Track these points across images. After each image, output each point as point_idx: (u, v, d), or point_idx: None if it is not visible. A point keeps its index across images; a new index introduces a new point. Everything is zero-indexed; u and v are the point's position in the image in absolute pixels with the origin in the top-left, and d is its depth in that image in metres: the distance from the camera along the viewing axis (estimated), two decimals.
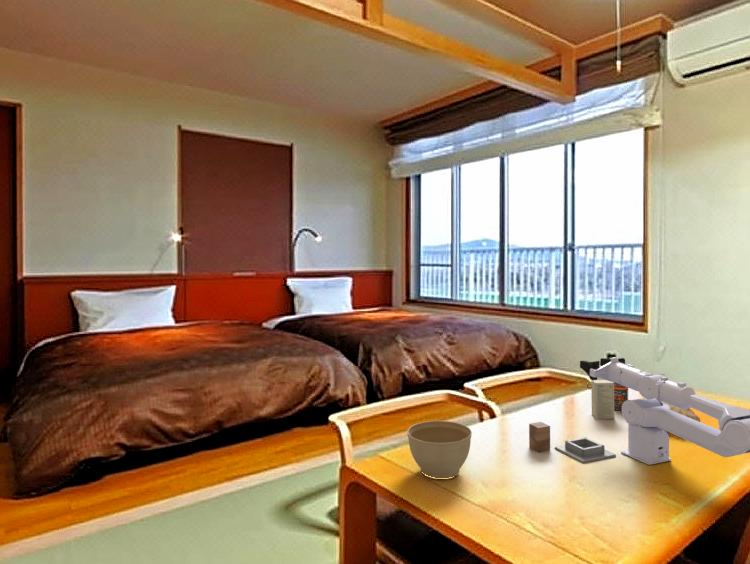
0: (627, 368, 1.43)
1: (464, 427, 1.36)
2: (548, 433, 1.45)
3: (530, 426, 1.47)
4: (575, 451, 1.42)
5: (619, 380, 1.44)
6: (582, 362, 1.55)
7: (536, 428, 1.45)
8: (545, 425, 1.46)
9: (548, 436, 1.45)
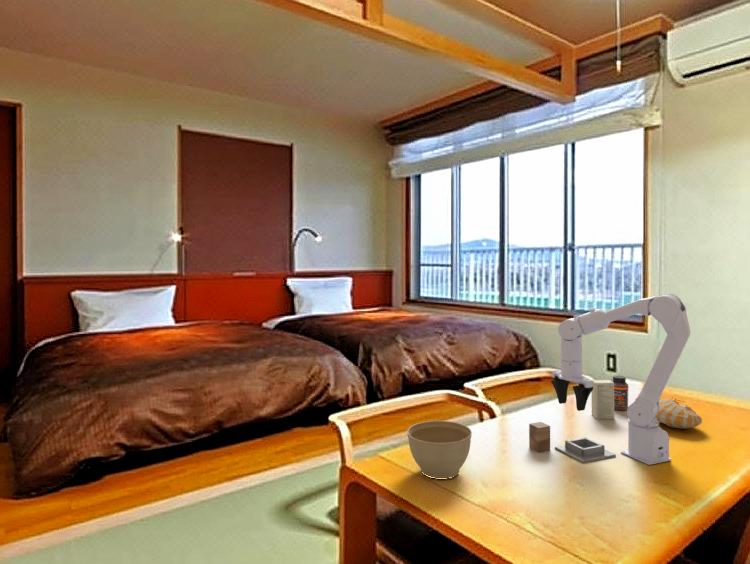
0: None
1: (464, 427, 1.36)
2: (548, 433, 1.45)
3: (530, 426, 1.47)
4: (575, 451, 1.42)
5: (580, 361, 1.49)
6: (579, 407, 1.47)
7: (536, 428, 1.45)
8: (545, 425, 1.46)
9: (548, 436, 1.45)
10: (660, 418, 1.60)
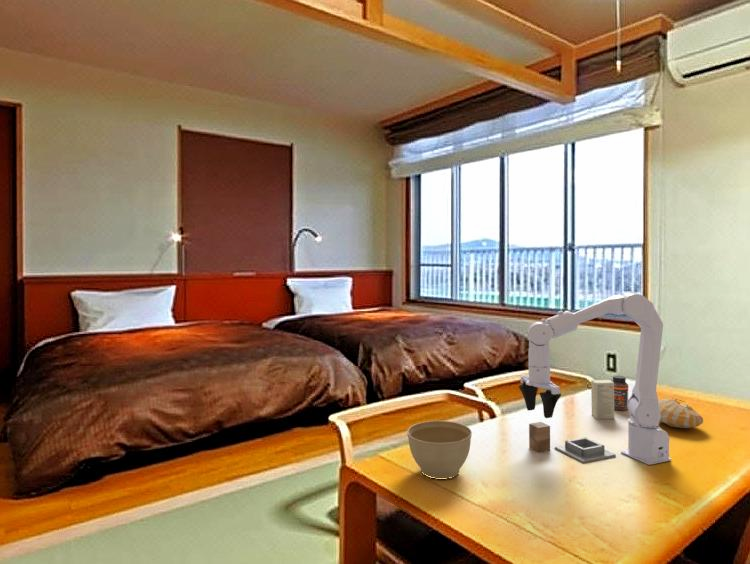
0: (529, 362, 1.45)
1: (464, 427, 1.36)
2: (548, 433, 1.45)
3: (530, 426, 1.47)
4: (575, 451, 1.42)
5: (548, 366, 1.44)
6: (547, 414, 1.42)
7: (536, 428, 1.45)
8: (545, 425, 1.46)
9: (548, 436, 1.45)
10: (662, 418, 1.60)
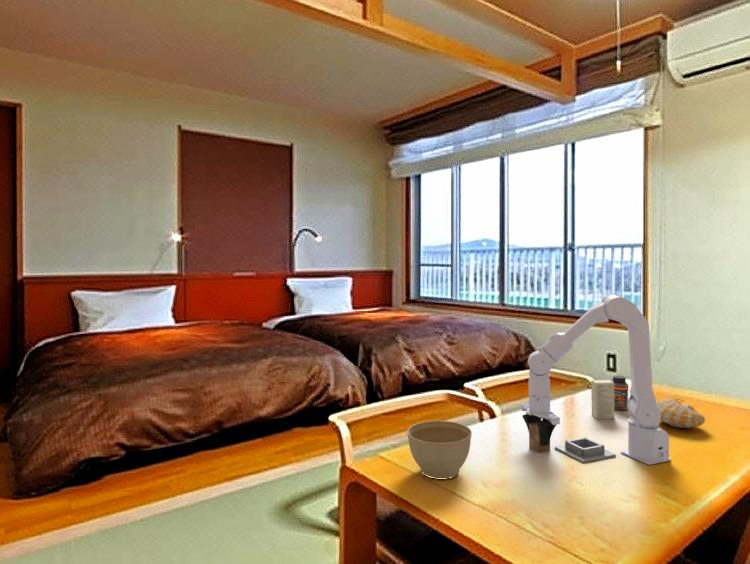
0: (529, 391, 1.46)
1: (464, 427, 1.36)
2: None
3: (530, 426, 1.47)
4: (575, 451, 1.42)
5: (548, 396, 1.44)
6: (543, 442, 1.44)
7: (536, 428, 1.45)
8: None
9: None
10: (664, 418, 1.60)
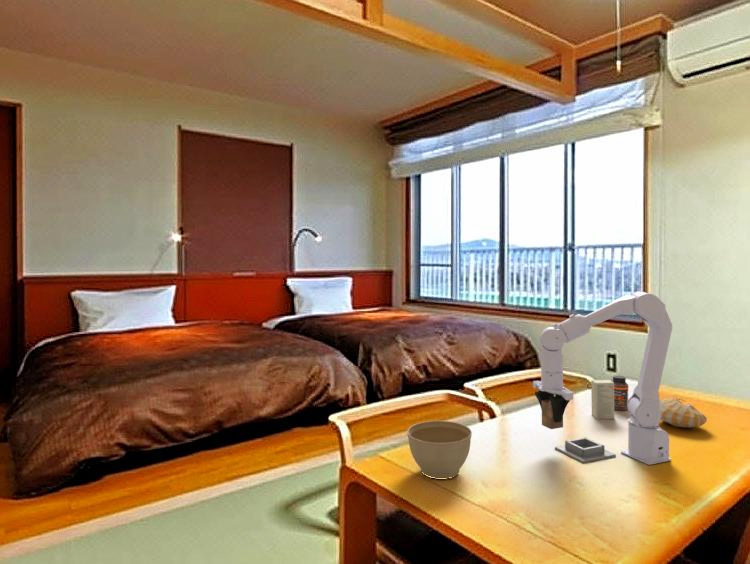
0: (542, 368, 1.44)
1: (464, 427, 1.36)
2: None
3: (542, 403, 1.46)
4: (575, 451, 1.42)
5: (561, 372, 1.43)
6: (556, 418, 1.43)
7: (549, 404, 1.44)
8: None
9: None
10: (666, 418, 1.60)
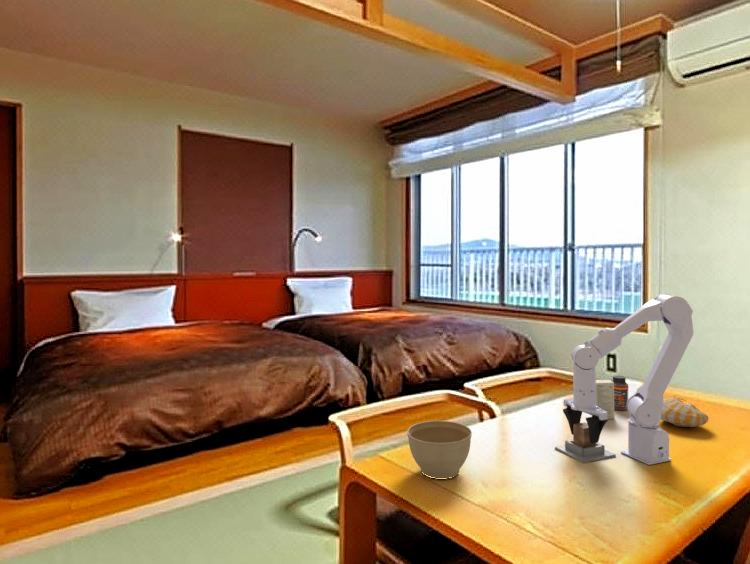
0: (575, 386, 1.42)
1: (464, 427, 1.36)
2: None
3: (574, 427, 1.44)
4: (575, 451, 1.42)
5: (594, 391, 1.41)
6: (593, 439, 1.39)
7: (581, 429, 1.42)
8: None
9: None
10: (668, 417, 1.60)
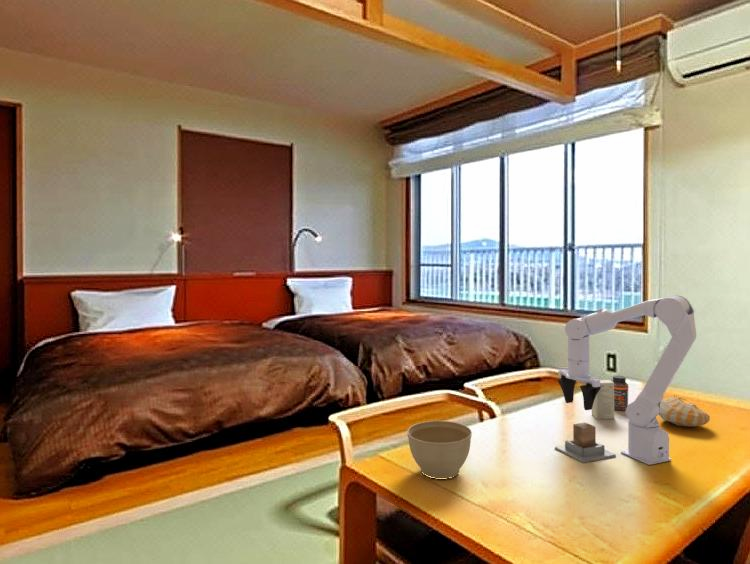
0: (568, 355, 1.52)
1: (464, 427, 1.36)
2: (593, 434, 1.42)
3: (574, 427, 1.44)
4: (575, 451, 1.42)
5: (587, 360, 1.49)
6: (587, 406, 1.47)
7: (581, 429, 1.42)
8: (590, 426, 1.43)
9: (593, 437, 1.42)
10: (670, 417, 1.60)
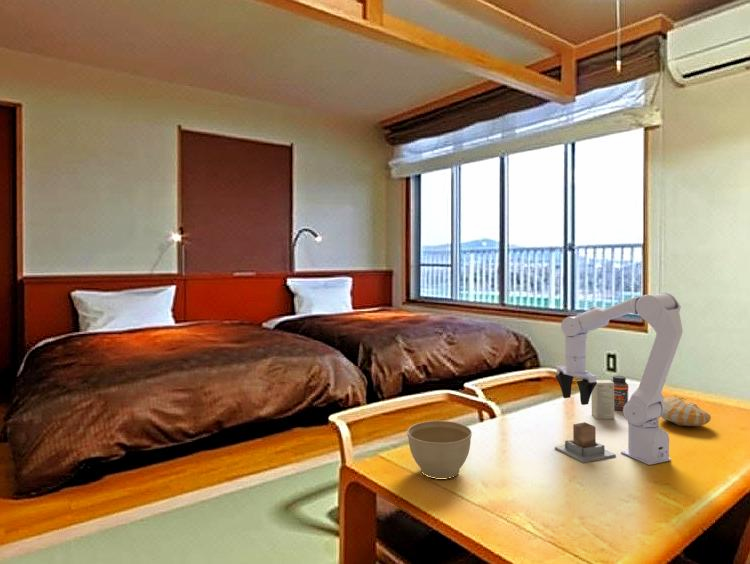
0: None
1: (464, 427, 1.36)
2: (593, 434, 1.42)
3: (574, 427, 1.44)
4: (575, 451, 1.42)
5: (584, 357, 1.54)
6: (583, 401, 1.53)
7: (581, 429, 1.42)
8: (590, 426, 1.43)
9: (593, 437, 1.42)
10: (672, 417, 1.61)
